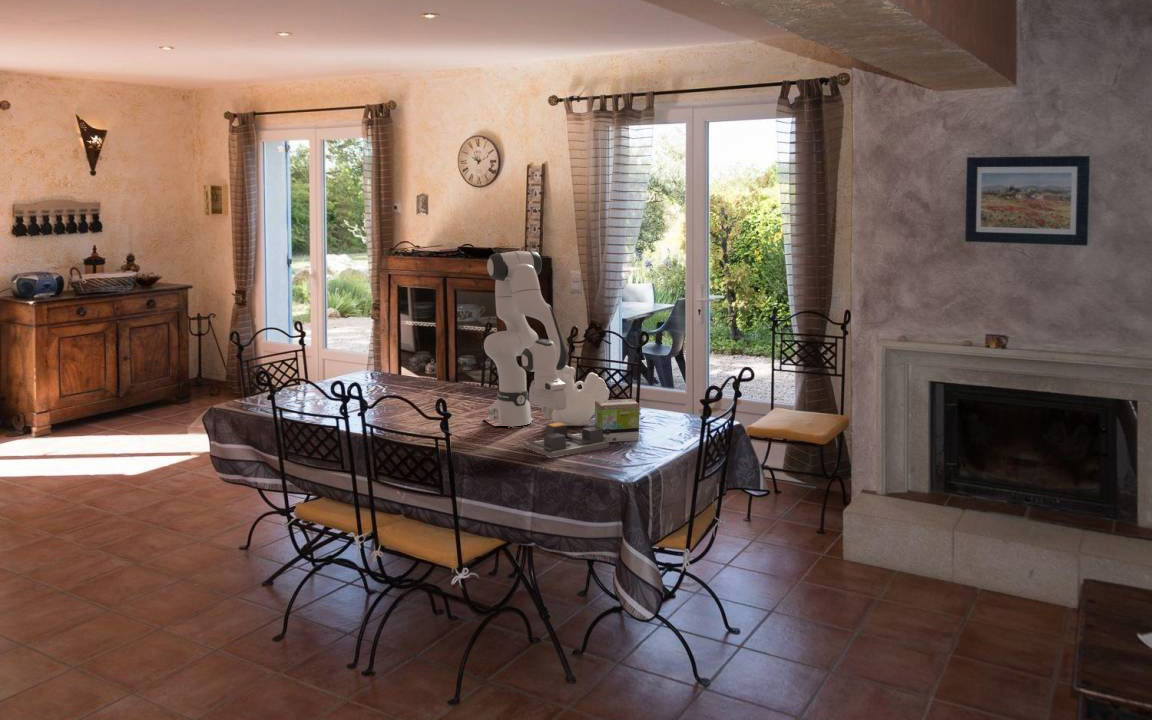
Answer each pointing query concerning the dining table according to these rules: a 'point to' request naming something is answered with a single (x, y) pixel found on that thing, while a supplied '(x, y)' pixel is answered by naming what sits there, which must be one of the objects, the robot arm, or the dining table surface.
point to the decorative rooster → (579, 398)
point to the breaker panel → (570, 442)
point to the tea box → (618, 419)
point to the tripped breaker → (557, 429)
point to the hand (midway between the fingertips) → (547, 418)
